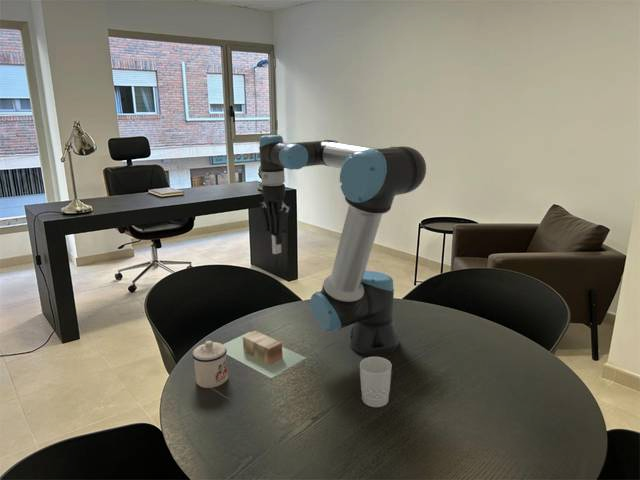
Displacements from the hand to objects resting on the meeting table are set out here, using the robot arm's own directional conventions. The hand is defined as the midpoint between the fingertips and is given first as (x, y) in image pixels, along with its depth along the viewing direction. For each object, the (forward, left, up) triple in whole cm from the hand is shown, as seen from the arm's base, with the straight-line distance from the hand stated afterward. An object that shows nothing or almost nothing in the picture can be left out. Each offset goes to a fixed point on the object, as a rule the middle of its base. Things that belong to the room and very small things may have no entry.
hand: (277, 252), depth 157 cm
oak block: (-9, +21, -22) cm, 31 cm away
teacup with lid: (-13, +37, -25) cm, 46 cm away
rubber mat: (-13, +21, -24) cm, 35 cm away
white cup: (-53, +17, -25) cm, 61 cm away
